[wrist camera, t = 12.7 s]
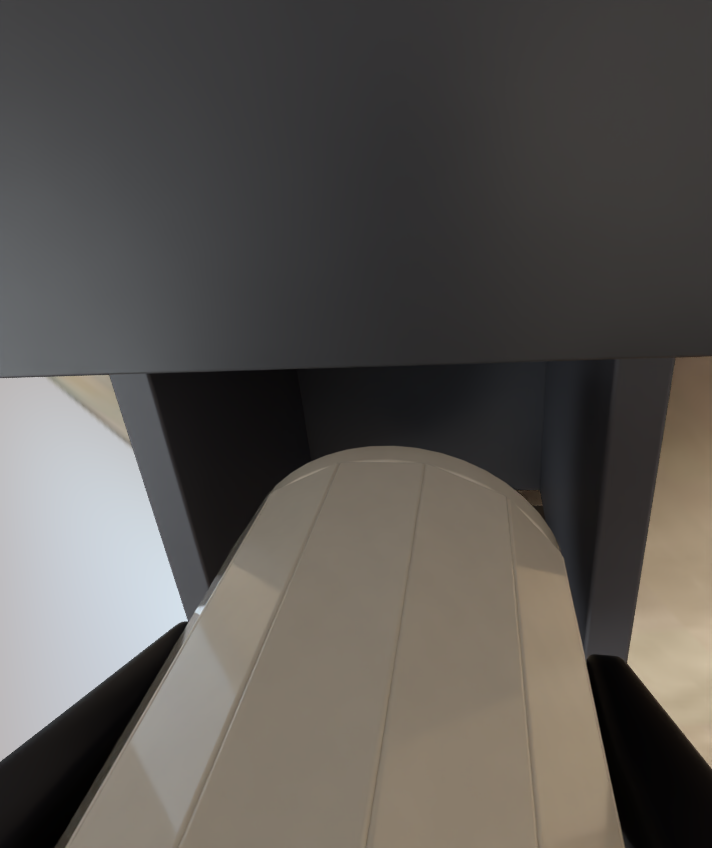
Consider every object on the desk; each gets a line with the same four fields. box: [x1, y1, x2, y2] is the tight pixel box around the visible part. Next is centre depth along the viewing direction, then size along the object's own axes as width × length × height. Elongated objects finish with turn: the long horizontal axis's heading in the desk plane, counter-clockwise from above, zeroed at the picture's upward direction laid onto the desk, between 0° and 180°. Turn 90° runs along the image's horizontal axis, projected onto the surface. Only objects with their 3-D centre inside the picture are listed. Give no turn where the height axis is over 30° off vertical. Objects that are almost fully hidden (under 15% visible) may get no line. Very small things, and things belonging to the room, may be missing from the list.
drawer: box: [109, 357, 675, 663], centre depth 15 cm, size 17×10×9 cm, turn 6°
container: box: [55, 446, 626, 848], centre depth 7 cm, size 5×6×6 cm
